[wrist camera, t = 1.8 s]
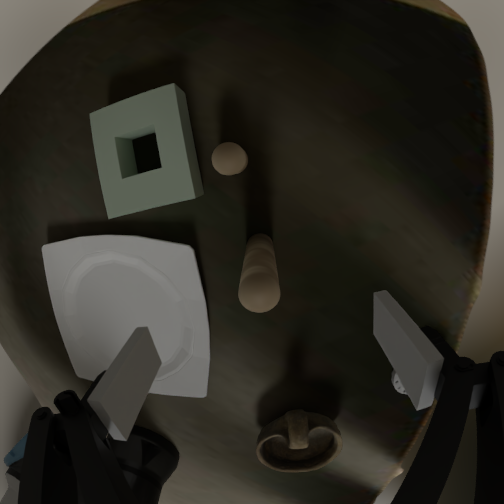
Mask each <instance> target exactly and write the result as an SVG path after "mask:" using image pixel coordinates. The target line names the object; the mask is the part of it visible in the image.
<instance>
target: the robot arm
mask: <svg viewBox="0 0 504 504" xmlns="http://www.w3.org/2000/svg"><path fill="white" fill-rule="evenodd" d="M373 334H374V335H375V337H376V339H377V340H378V342H379V344H380V346H381V347H382V349H383V351H384V352H385V354H386V356H387V358H388V359H389V361H390V363H391V365H392V366H393V368H394V370H395V372H396V373H397V375H398V377H399V379H400V381H401V382H402V384H403V386H404V388H405V390H406V391H407V393H408V395H409V397H410V399H411V401H412V403H413V404H414V406H415V408H416V410H420V409H423V408H426V407H428V406H431V405H432V402H433V399H434V396H435V398H436V400H437V401H438V402H437V405H436V408H435V411H434V413H433V416H432V419H431V422H430V424H429V427H428V429H427V432H426V434H425V436H424V439H423V441H422V444H421V446H420V448H419V450H418V453H417V455H416V457H415V459H414V461H413V463H412V466H411V467H410V469H409V471H408V473H407V475H406V477H405V479H404V481H403V483H402V485H401V487H400V489H399V490H398V492H397V494H396V495H395V497H394V499H393V501H392V502H391V504H437V502H438V499H439V497H440V495H441V492H442V490H443V488H444V486H445V483H446V481H447V478H448V475H449V473H450V470H451V468H452V465H453V462H454V459H455V456H456V453H457V450H458V447H459V444H460V441H461V437H462V434H463V430H464V426H465V423H466V419H467V414H468V411H469V409H472V408H476V421H477V474H476V488H475V498H474V504H504V351H499V352H496V353H494V354H493V355H492V357H491V359H490V362H486V363H479V364H475V362H474V361H473V360H471V359H470V358H467V357H459V356H458V355H457V354H456V352H455V351H454V350H453V349H452V348H451V347H450V345H449V344H448V343H447V342H445V340H444V339H443V338H442V337H441V335H440V334H439V333H438V332H437V331H436V330H435V329H433V328H431V327H429V326H426V327H423V328H419V327H418V326H417V325H416V324H415V322H414V321H413V320H412V319H411V318H410V317H409V315H408V314H407V313H406V312H405V311H404V310H403V309H402V307H401V306H400V305H399V304H398V303H397V302H396V301H395V300H394V298H393V297H392V296H391V295H390V294H389V293H388V292H387V291H386V290H384V291H379V292H375V293H374V331H373ZM161 364H162V362H161V359H160V357H159V355H158V352H157V350H156V347H155V345H154V342H153V339H152V337H151V334H150V332H149V329H148V326H146V327H137V328H136V329H135V330H134V332H133V333H132V335H131V336H130V337H129V339H128V340H127V342H126V343H125V345H124V346H123V347H122V349H121V350H120V352H119V353H118V355H117V356H116V357H115V359H114V360H113V362H112V363H111V365H110V366H109V368H108V369H107V370H104V371H103V372H102V373H100V374H99V375H98V376H97V377H96V379H95V380H94V383H92V385H91V386H90V388H89V389H88V391H87V392H86V394H85V395H84V397H83V398H82V400H81V401H80V399H79V398H78V396H77V394H76V393H75V391H73V390H66V391H63V392H61V393H59V394H58V395H57V396H56V397H55V399H54V404H55V406H56V407H57V409H58V410H59V411H60V413H59V414H53V412H52V411H51V410H50V408H48V407H42V408H39V409H37V410H36V411H35V412H34V413H33V415H32V418H31V422H30V427H29V431H28V433H27V434H26V435H25V436H24V437H23V438H22V439H21V440H20V441H19V442H18V443H17V444H16V445H15V446H14V447H13V449H12V450H11V451H10V452H9V453H8V454H7V455H6V457H5V458H4V462H5V463H6V465H7V466H9V469H8V470H7V472H6V474H5V475H6V478H7V482H8V486H9V488H8V490H7V491H6V493H5V495H4V497H3V498H2V500H1V502H0V504H158V501H159V498H160V493H161V490H162V486H163V485H164V483H165V482H166V481H167V480H168V478H169V477H170V476H171V474H172V473H173V472H174V471H175V469H176V468H177V465H178V462H179V453H178V451H177V449H176V448H175V447H174V446H173V445H172V444H171V443H170V442H169V441H167V440H166V439H164V438H163V437H161V436H160V435H158V434H156V433H154V432H152V431H149V430H147V429H144V428H141V427H137V426H133V425H134V423H135V421H136V419H137V416H138V414H139V412H140V410H141V407H142V405H143V403H144V401H145V399H146V396H147V394H148V392H149V390H150V388H151V385H152V383H153V381H154V379H155V377H156V375H157V373H158V370H159V368H160V366H161ZM108 432H109V434H108V436H107V438H106V435H107V433H108Z"/></svg>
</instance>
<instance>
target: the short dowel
mask: <svg viewBox="0 0 504 504" xmlns="http://www.w3.org/2000/svg"><path fill="white" fill-rule="evenodd" d="M212 164H213V166H214V168H215V169H216V170H217V171H218V172H219V173H221V174H224V175H233V174H237V173H240V172H242V171H243V170H244V169H245V168H246V167H247V164H248V156H247V154H246V152H245V151H244V150H243V149H242V148H241V147H240V146H239V145H237V144H235V143H232V142H226V143H222V144H220V145H219V146H217V147H216V149H215V150H214V152H213V154H212Z"/></svg>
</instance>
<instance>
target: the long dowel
mask: <svg viewBox="0 0 504 504" xmlns="http://www.w3.org/2000/svg"><path fill="white" fill-rule="evenodd" d="M238 296H239V300H240V302H241V303H242V305H243V306H244V307H245V308H247V309H248V310H250V311H253V312H266V311H269V310H271V309H272V308H273V307H275V305H276V304H277V303H278V301H279V298H280V288H279V281H278V274H277V267H276V261H275V254H274V247H273V242H272V240H271V238H270V237H269V236H267V235H266V234H262V233H257V234H254V235H252V236H251V237H250V238H249V240H248V242H247V246H246V252H245V257H244V263H243V269H242V274H241V280H240V286H239V292H238Z"/></svg>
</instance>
